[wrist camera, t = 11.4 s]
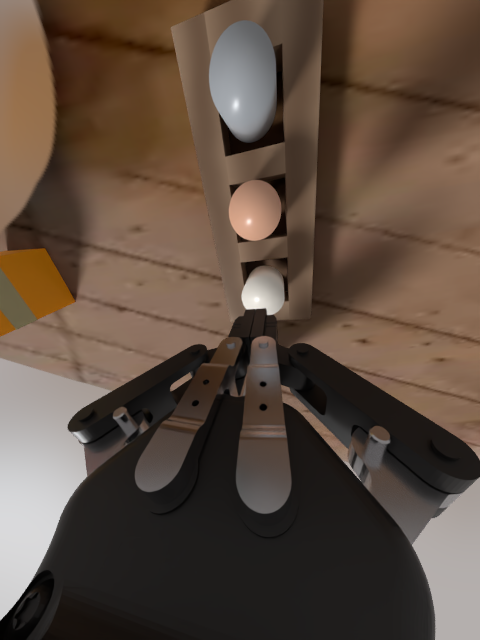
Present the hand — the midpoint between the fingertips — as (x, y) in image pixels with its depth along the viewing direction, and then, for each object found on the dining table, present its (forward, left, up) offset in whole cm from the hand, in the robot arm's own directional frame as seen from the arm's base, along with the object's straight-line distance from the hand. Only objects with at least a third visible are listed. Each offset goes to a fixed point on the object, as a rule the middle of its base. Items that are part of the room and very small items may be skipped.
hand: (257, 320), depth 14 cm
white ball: (0, 0, -8) cm, 8 cm away
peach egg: (0, -7, -9) cm, 11 cm away
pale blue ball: (0, -14, -9) cm, 16 cm away
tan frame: (0, -7, -12) cm, 13 cm away
